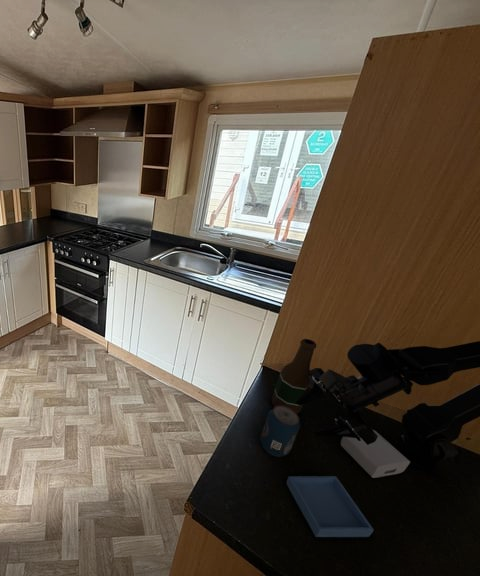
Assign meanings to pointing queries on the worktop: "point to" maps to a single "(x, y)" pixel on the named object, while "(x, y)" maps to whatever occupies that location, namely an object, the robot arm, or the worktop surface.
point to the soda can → (280, 431)
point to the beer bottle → (294, 377)
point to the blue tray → (328, 507)
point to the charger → (376, 456)
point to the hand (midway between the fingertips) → (305, 418)
